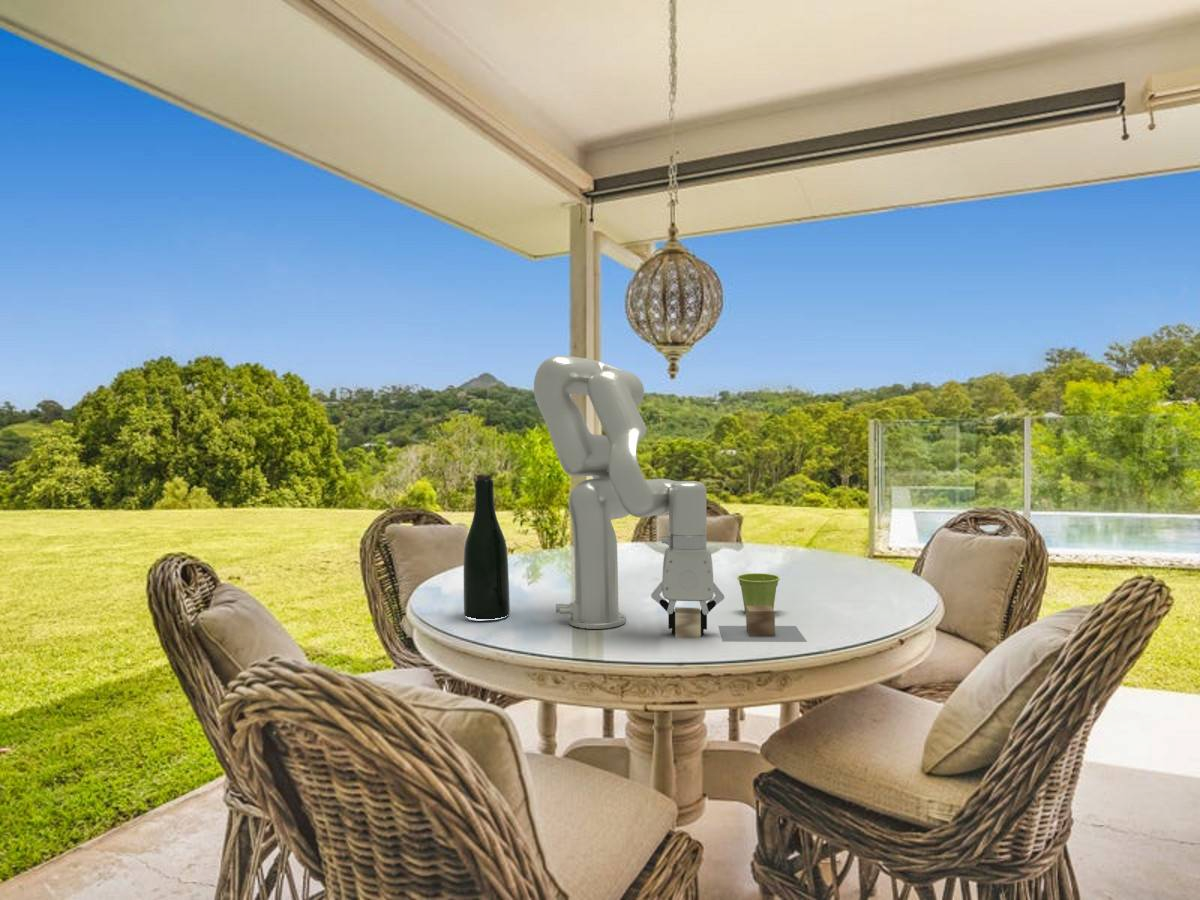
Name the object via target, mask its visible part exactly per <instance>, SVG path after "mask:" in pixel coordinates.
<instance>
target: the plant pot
mask: <svg viewBox="0 0 1200 900" xmlns="http://www.w3.org/2000/svg"><path fill="white" fill-rule="evenodd" d="M736 578H737V580H738V582H739V586H740V588H741V595H742V602H743V607H744V609H743V610H744V613H745V614H746V606H771V607H772V608H773V610H774V611H775V602H776V601H775V599H776V595H777V594H776V593H777V587H778V585H779V581H780V580H781V578H780V576H779V575H776V574H771V573H761V572H760V573H759V572H758V573H755V572H754V573H752V572H751V573H742V574H740V575H737V576H736Z"/></svg>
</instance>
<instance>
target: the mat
mask: <svg viewBox="0 0 1200 900" xmlns="http://www.w3.org/2000/svg"><path fill="white" fill-rule="evenodd" d="M718 630H719V634H720V637H721V641H722V642H723V643H724V642H727V643H729V642H731V643H732V642H733V643H735V642H737V643H738V642H740V643H741V642H746V643H747V642H753V643H755V642H756V643H757V642H758V643H759V642H761V643H763V642H766V643H771V642H772V643H773V642H774V643H775V642H776V643H781V642H782V643H783V642H784V643H786V642H788V643H789V642H790V643H796V642H797V643H803V642H807V643H808V641H807V639H806V638H805V636H804V635H803V634H802V632H801V631H800V630H799V628H798V627H797V626H796V625H775V637H749V635H748V632H747V629H746V625H718Z"/></svg>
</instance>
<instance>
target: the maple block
mask: <svg viewBox="0 0 1200 900" xmlns="http://www.w3.org/2000/svg"><path fill="white" fill-rule="evenodd" d="M674 611H675V634H674V636H675V638H682V639H683V638H685V639H686V638H689V639H690V638H693V639H694V638H696V639H697V638H701V636H702V635H701V613H700V611H701V607H685V606H684V607H677V606H676V607H674Z"/></svg>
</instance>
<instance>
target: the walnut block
mask: <svg viewBox="0 0 1200 900" xmlns="http://www.w3.org/2000/svg"><path fill="white" fill-rule="evenodd" d="M745 615H746V616H745V620H746V624H745V626H746V629H747V632H748V635H749V637H775V626H776V622H775V621H776V620H775V619H776V618H775V617H776V616H775V609H774V610H773V608H772V607H771V606H746V613H745Z"/></svg>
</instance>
